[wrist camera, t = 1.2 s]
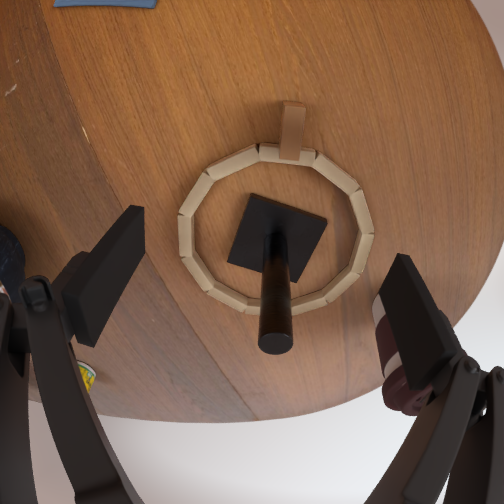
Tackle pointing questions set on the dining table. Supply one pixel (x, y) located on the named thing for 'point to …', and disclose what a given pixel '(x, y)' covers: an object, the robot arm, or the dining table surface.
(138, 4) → the mat
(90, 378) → the supplement bottle
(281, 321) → the post on square base
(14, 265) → the bowl
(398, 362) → the coffee cup
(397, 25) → the dining table surface
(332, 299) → the segmented ring with tab
